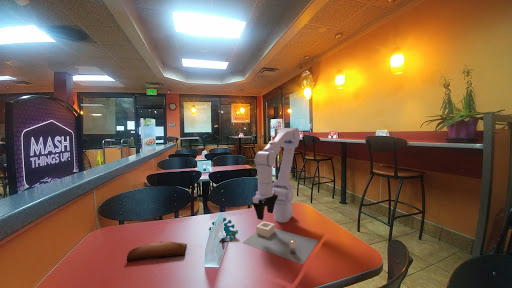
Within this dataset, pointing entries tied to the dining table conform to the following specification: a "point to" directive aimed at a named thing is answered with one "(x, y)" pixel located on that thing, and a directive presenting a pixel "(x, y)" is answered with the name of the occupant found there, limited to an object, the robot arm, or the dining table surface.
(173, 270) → the dining table surface
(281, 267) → the dining table surface
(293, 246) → the piston
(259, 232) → the ring
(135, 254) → the sunglasses case
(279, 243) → the board
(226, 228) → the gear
